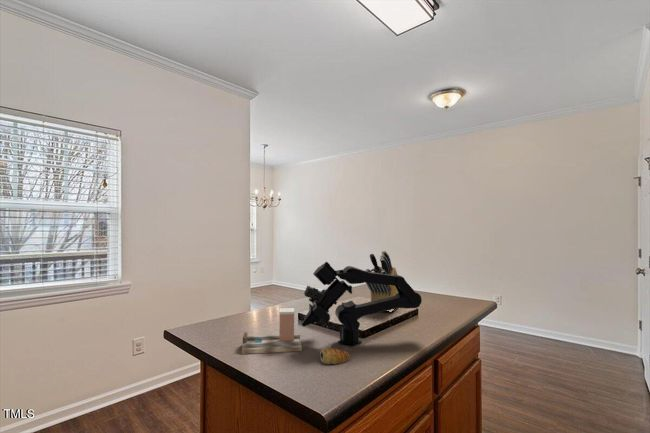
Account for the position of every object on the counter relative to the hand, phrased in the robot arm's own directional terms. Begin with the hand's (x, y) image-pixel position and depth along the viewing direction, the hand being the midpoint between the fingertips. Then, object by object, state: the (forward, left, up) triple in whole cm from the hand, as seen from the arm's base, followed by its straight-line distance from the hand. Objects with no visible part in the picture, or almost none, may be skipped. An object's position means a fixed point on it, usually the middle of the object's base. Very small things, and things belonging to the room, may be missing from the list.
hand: (302, 325), depth 115 cm
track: (+6, +9, -7) cm, 13 cm away
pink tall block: (+3, +5, -5) cm, 8 cm away
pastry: (-16, +1, -8) cm, 18 cm away
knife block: (+10, -64, -7) cm, 66 cm away
